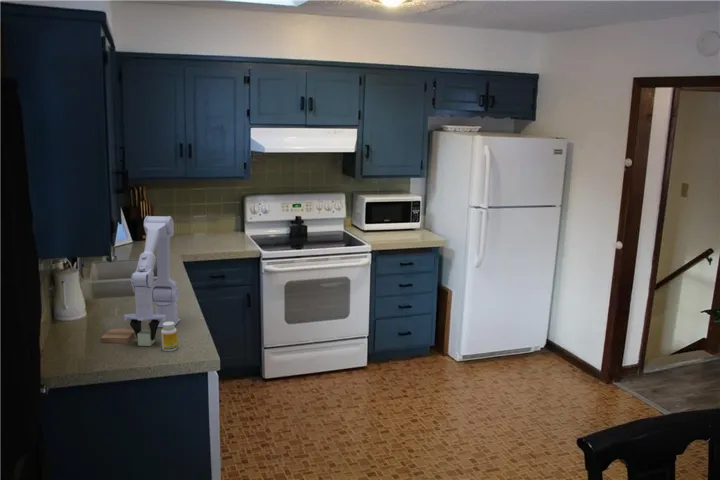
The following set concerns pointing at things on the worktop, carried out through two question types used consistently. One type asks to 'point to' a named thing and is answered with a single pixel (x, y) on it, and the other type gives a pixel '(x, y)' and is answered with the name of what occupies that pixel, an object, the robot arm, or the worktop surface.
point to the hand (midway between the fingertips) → (146, 339)
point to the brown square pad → (118, 336)
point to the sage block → (145, 338)
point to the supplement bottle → (169, 336)
